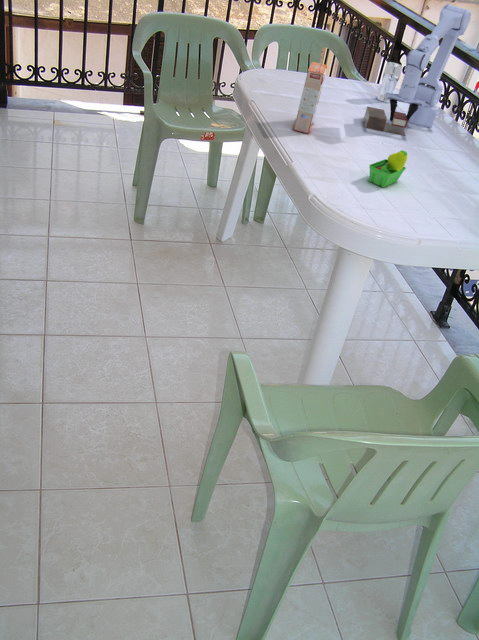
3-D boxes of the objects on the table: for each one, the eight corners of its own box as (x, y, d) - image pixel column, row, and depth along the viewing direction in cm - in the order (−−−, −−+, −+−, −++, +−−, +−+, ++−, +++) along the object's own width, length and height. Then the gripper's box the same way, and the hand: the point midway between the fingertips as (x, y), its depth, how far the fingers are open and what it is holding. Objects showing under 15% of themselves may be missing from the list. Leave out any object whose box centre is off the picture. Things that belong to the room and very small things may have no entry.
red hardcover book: (403, 121, 257) (405, 113, 256) (405, 128, 251) (408, 120, 249) (390, 118, 257) (392, 110, 255) (392, 125, 250) (394, 117, 249)
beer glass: (373, 97, 293) (383, 61, 285) (385, 97, 296) (396, 62, 288) (382, 102, 288) (393, 66, 280) (395, 103, 292) (406, 67, 283)
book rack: (400, 129, 261) (405, 114, 258) (404, 140, 251) (409, 124, 248) (362, 121, 261) (367, 106, 257) (364, 131, 251) (369, 115, 247)
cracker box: (309, 134, 236) (324, 73, 225) (292, 130, 237) (306, 69, 225) (313, 123, 248) (328, 64, 236) (297, 119, 248) (311, 60, 237)
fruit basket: (381, 173, 218) (391, 139, 211) (405, 184, 214) (417, 149, 207) (363, 180, 210) (374, 145, 203) (388, 191, 206) (400, 156, 199)
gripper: (391, 84, 242) (379, 121, 250) (430, 92, 243) (418, 129, 250) (389, 78, 248) (378, 115, 256) (427, 87, 249) (415, 123, 256)
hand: (398, 121), depth 254 cm, fingers closed on red hardcover book, 5 cm apart
